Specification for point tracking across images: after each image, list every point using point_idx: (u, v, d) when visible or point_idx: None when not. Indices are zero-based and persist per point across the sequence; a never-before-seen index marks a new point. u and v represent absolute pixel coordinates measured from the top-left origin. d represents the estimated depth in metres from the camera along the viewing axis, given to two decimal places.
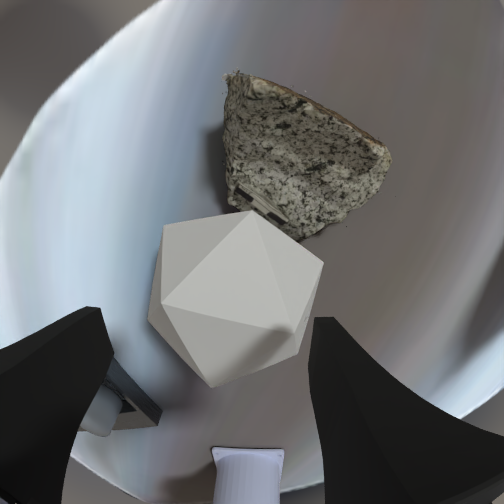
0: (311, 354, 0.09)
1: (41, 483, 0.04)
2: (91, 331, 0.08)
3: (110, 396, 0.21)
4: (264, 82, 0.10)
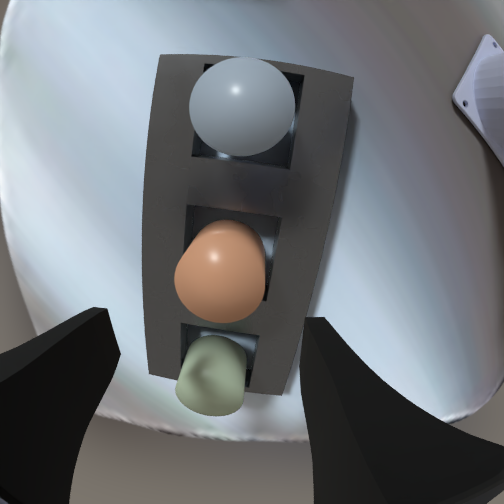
0: (302, 354, 0.09)
1: (48, 486, 0.04)
2: (98, 332, 0.08)
3: None
4: None
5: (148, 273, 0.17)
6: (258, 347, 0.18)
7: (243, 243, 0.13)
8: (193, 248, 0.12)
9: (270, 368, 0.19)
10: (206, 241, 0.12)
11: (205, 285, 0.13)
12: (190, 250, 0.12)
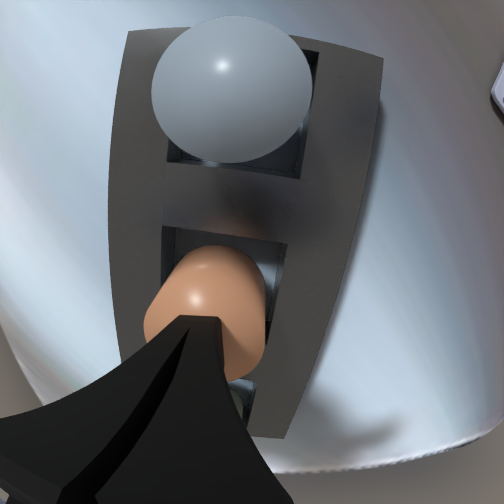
0: None
1: None
2: None
3: None
4: None
5: (120, 308, 0.13)
6: (256, 393, 0.15)
7: (234, 287, 0.09)
8: (165, 294, 0.09)
9: (271, 414, 0.15)
10: (182, 285, 0.09)
11: None
12: (161, 296, 0.09)
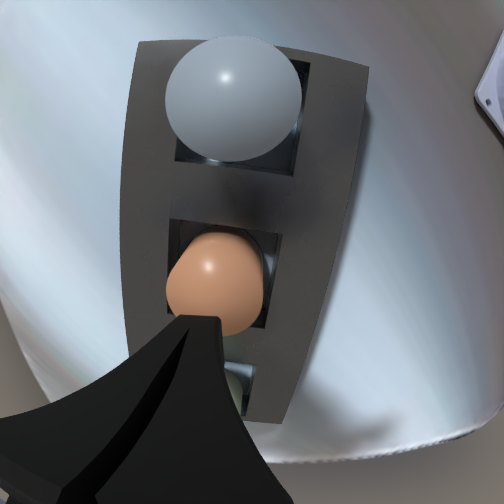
0: None
1: None
2: None
3: None
4: None
5: (129, 296, 0.14)
6: (255, 377, 0.16)
7: (239, 253, 0.12)
8: (186, 258, 0.11)
9: (269, 398, 0.16)
10: (199, 251, 0.11)
11: (198, 298, 0.12)
12: (182, 260, 0.11)
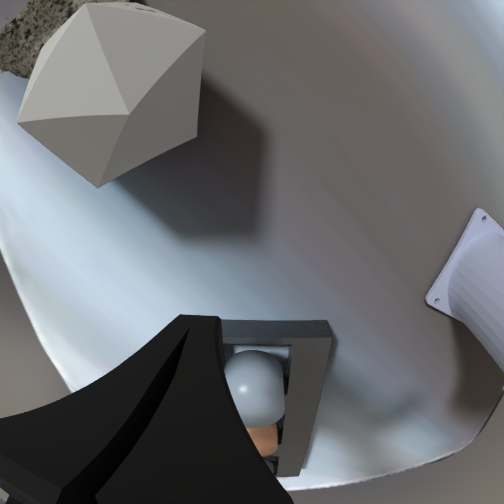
0: None
1: None
2: None
3: (245, 357, 0.18)
4: None
5: None
6: (279, 460, 0.24)
7: (263, 431, 0.20)
8: None
9: (289, 467, 0.24)
10: None
11: None
12: None
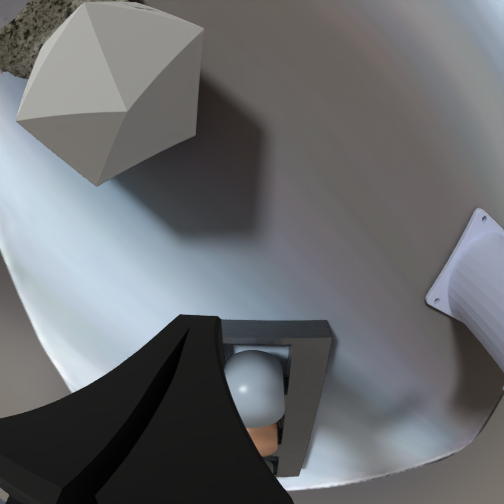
0: None
1: None
2: None
3: (245, 357, 0.18)
4: None
5: None
6: (279, 460, 0.24)
7: (263, 431, 0.20)
8: None
9: (289, 467, 0.24)
10: None
11: None
12: None
